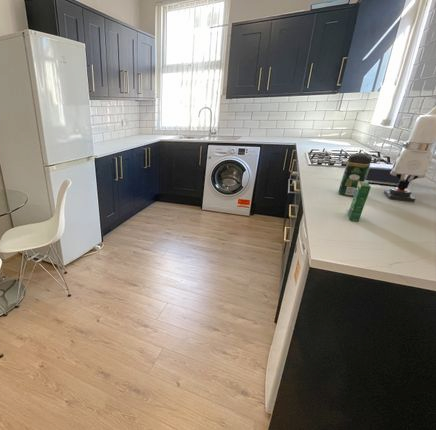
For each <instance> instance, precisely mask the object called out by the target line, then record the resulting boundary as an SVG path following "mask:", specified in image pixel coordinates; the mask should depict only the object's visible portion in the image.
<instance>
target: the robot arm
mask: <svg viewBox="0 0 436 430" xmlns="http://www.w3.org/2000/svg"><path fill="white" fill-rule="evenodd" d="M435 141H436V105H435V106H434V107H432V109H430V111H429V112H428V113H427V114H422V115H419V116H418V117H417V118H416V120H415V122H414V125H413V127H412V130H411V132H410V134H409V137H408V140H407V141H406V142H402V143H401V147H404V148H403V149H401V150H400V152H399V153H398V156H397V157H396V160H395V161H394V163H393V164H392V165H393V168H392V171H391V172H390V174H391V175H394V176H397V177H398V178H399V182H398V183H397V184H396V185H397V187H396V188H398V189H399V190H405V189H406V190H408V188H409V185H410V183H411V182H412V181H414V180H416V179H425V178H426V175H427V174H428V173H429V169H430V166H431V164H432V160H433V156H434V151H432V148H433V146H434V144H435ZM406 175H407V176H406Z"/></svg>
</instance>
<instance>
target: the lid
mask: <svg viewBox="0 0 436 430" xmlns="http://www.w3.org/2000/svg"><path fill="white" fill-rule="evenodd" d="M393 165H394V164H388V163H376V162H375V163H373V162H371V163H370V166H369V168H370V169H382V170H392V168H393Z"/></svg>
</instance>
